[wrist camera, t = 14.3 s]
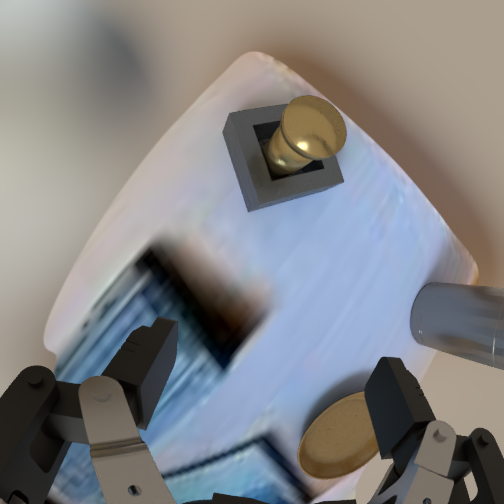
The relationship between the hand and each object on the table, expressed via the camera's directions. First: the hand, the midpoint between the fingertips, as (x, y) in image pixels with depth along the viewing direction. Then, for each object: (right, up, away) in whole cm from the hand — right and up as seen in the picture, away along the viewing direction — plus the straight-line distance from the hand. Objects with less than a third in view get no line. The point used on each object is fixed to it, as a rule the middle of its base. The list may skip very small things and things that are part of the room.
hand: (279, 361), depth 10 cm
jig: (+1, +14, +19) cm, 24 cm away
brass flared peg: (+1, +13, +19) cm, 23 cm away
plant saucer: (+11, -20, +22) cm, 31 cm away
